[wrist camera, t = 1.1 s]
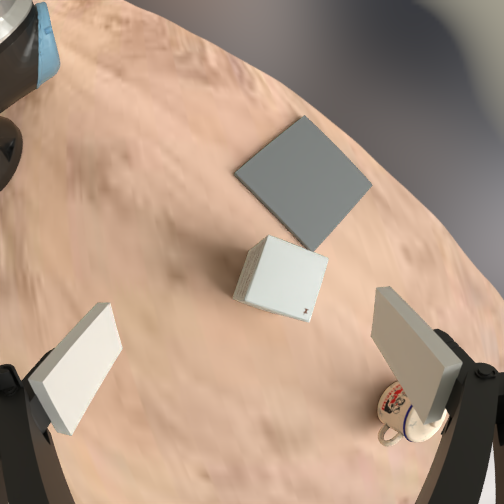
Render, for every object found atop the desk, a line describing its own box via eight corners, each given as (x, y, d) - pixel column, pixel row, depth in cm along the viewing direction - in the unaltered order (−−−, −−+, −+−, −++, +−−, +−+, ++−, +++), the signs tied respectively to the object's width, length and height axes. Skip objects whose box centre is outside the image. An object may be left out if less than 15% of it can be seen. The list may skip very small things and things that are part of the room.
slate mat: (234, 175, 45) (234, 172, 44) (302, 118, 48) (304, 115, 47) (310, 253, 45) (312, 252, 44) (369, 186, 49) (372, 185, 48)
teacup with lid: (402, 368, 46) (447, 381, 35) (422, 398, 46) (464, 414, 35) (353, 418, 44) (392, 445, 32) (377, 445, 44) (414, 472, 32)
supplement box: (295, 267, 45) (332, 258, 32) (278, 316, 44) (310, 325, 31) (248, 248, 44) (268, 232, 32) (229, 298, 43) (243, 301, 30)
